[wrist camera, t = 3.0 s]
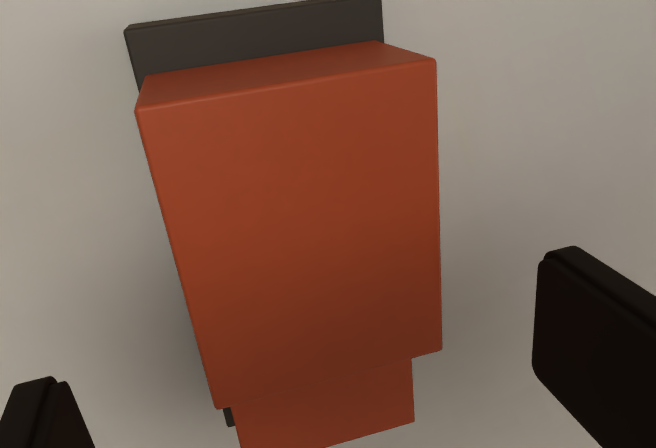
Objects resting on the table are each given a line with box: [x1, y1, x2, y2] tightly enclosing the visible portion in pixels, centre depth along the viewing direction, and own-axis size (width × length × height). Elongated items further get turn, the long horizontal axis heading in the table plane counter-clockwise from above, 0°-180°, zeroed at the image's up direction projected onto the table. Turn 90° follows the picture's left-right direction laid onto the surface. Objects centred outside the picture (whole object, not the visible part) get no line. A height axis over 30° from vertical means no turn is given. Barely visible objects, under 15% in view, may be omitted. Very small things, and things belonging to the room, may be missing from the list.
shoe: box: [124, 0, 442, 448], centre depth 14 cm, size 12×6×5 cm, turn 6°
